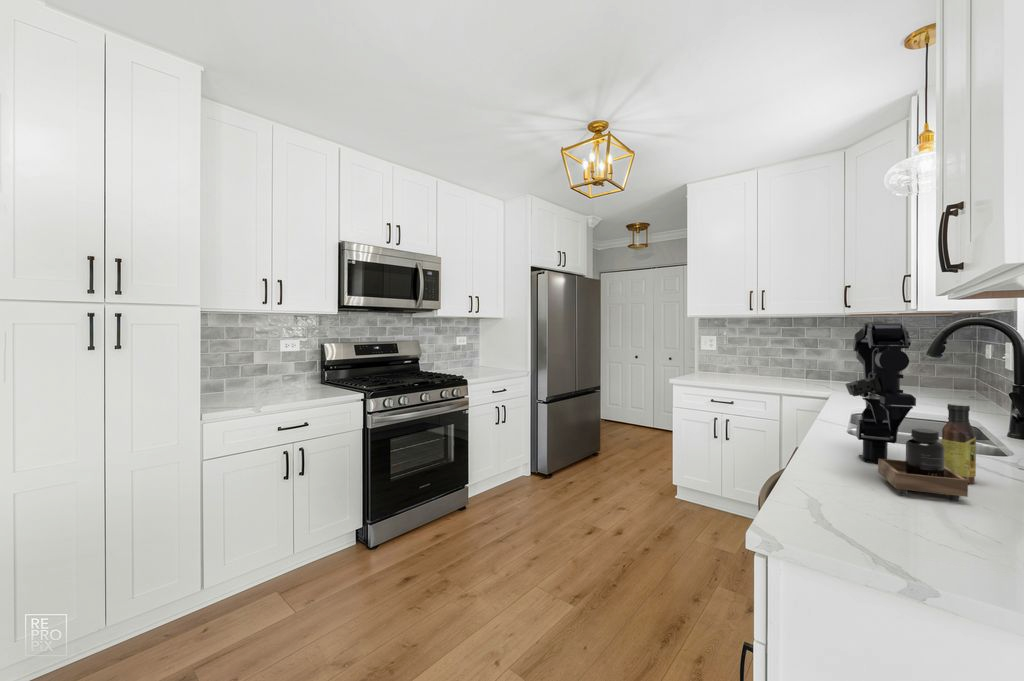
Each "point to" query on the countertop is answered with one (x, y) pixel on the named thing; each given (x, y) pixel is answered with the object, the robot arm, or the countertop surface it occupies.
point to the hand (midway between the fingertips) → (885, 427)
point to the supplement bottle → (924, 453)
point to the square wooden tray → (922, 480)
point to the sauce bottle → (959, 442)
